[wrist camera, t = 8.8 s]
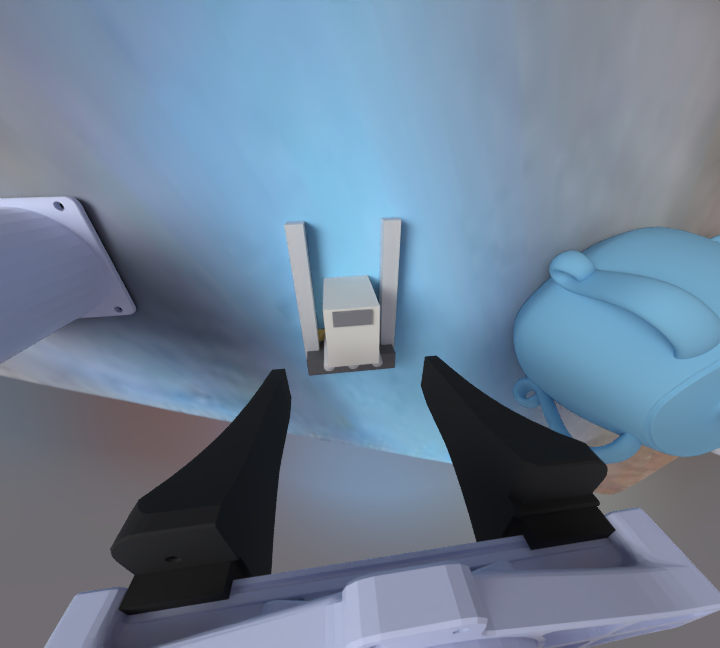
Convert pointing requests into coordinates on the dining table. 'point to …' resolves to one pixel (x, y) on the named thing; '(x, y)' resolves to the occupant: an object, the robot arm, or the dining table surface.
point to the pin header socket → (306, 304)
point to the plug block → (351, 321)
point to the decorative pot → (629, 342)
